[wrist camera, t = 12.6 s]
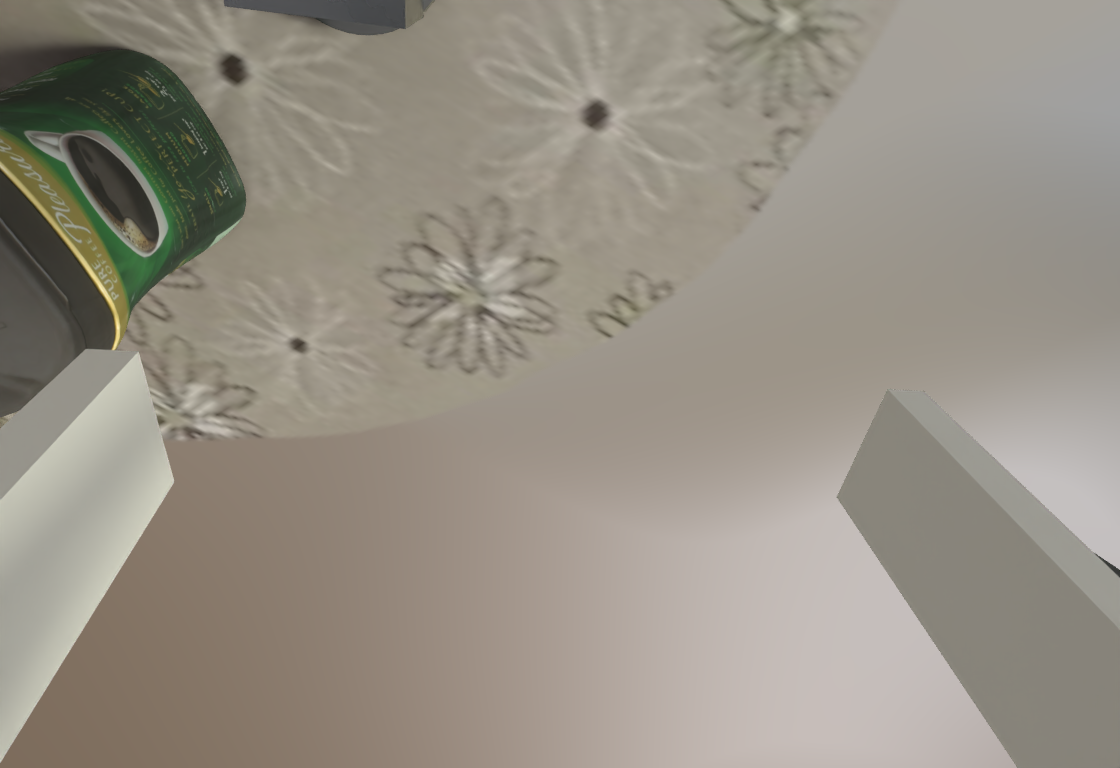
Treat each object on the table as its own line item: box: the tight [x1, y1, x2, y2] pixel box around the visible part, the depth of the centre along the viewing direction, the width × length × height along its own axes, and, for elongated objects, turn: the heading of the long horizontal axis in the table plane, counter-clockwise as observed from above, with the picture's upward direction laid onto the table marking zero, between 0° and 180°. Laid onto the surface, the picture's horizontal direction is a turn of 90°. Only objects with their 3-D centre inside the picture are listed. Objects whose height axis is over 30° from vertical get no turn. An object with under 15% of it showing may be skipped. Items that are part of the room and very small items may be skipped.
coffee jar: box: [0, 50, 246, 417], centre depth 25 cm, size 10×8×19 cm
